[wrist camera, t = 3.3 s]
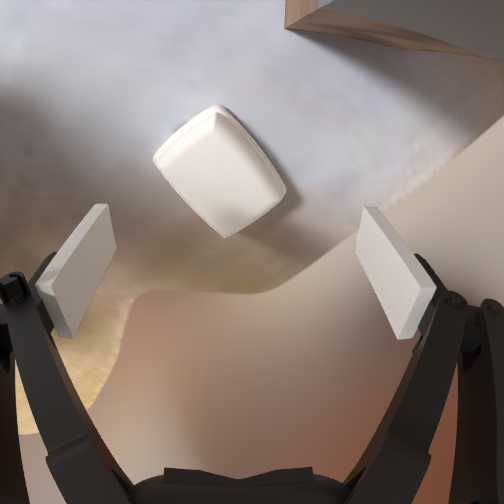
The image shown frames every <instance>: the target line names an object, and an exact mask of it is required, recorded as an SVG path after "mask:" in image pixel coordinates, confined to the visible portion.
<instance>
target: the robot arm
mask: <svg viewBox="0 0 504 504" xmlns="http://www.w3.org/2000/svg"><path fill="white" fill-rule="evenodd" d="M116 250H117V247H116V242H115V238H114V233H113V227H112V222H111V217H110V211H109V205H108V204H95V205H94V206H93V207H92V208H91V210H90V211H89V212H88V213H87V215H86V216H85V217H84V218H83V220H82V221H81V222H80V223H79V225H78V226H77V227H76V228H75V230H74V231H73V232H72V234H71V235H70V236H69V238H68V239H67V240H66V242H65V243H64V244H63V246H62V247H61V248H60V250H59V251H58V252H53V253H52V254H50V255H49V256H48V257H47V258H46V259H45V260H44V261H43V263H42V264H41V266H40V267H39V268H38V270H37V272H36V273H35V274H34V275H33V277H32V278H31V280H30V281H29V283H28V284H27V282H26V279H25V277H24V275H23V273H21V272H12V273H9V274H7V275H5V276H4V277H2V278H1V279H0V298H1V300H2V302H3V304H0V504H30V502H29V497H28V492H27V487H26V482H25V477H24V471H23V465H22V459H21V452H20V444H19V435H18V425H17V413H16V394H15V359H16V363H17V366H18V370H19V374H20V377H21V380H22V384H23V387H24V390H25V393H26V396H27V399H28V402H29V405H30V408H31V411H32V414H33V416H34V419H35V422H36V424H37V427H38V430H39V432H40V434H41V437H42V439H43V442H44V444H45V446H46V449H47V451H48V456H46V462H47V465H48V468H49V470H50V472H51V474H52V476H53V478H54V480H55V482H56V484H57V486H58V488H59V490H60V492H61V494H62V496H63V498H64V500H65V501H66V503H67V504H411V503H412V501H413V499H414V497H415V495H416V493H417V491H418V489H419V487H420V484H421V482H422V480H423V478H424V475H425V473H426V471H427V469H428V466H429V463H430V460H431V455H430V454H429V453H428V450H429V447H430V445H431V442H432V439H433V437H434V434H435V432H436V429H437V426H438V423H439V421H440V418H441V415H442V412H443V409H444V405H445V402H446V399H447V396H448V393H449V389H450V386H451V382H452V379H453V375H454V371H455V368H456V364H457V362H458V415H457V435H456V447H455V457H454V467H453V475H452V482H451V489H450V495H449V503H448V504H504V307H503V306H502V305H501V304H500V303H498V302H497V301H495V300H493V299H484V301H483V302H482V304H481V305H480V307H475V306H470V305H468V304H467V301H466V300H465V299H464V298H463V297H462V296H461V295H460V294H458V293H456V292H453V291H448V290H447V289H446V288H445V286H444V285H443V283H442V282H441V280H440V279H439V277H438V276H437V275H436V274H435V272H434V271H433V269H432V268H431V266H430V265H429V264H428V263H427V261H426V260H425V259H423V258H422V257H421V256H420V255H419V254H413V253H412V251H411V250H410V249H409V248H408V246H407V245H406V243H405V242H404V241H403V239H402V238H401V237H400V236H399V234H398V233H397V232H396V230H395V229H394V228H393V227H392V225H391V224H390V223H389V222H388V220H387V219H386V218H385V216H384V215H383V214H382V213H381V212H380V210H379V209H378V208H377V207H369V206H364V208H363V212H362V217H361V222H360V226H359V231H358V236H357V240H356V244H355V248H354V252H355V254H356V256H357V258H358V259H359V261H360V263H361V265H362V267H363V269H364V271H365V273H366V275H367V277H368V279H369V281H370V283H371V285H372V287H373V289H374V291H375V293H376V295H377V297H378V299H379V301H380V303H381V305H382V308H383V310H384V312H385V314H386V316H387V318H388V320H389V322H390V325H391V327H392V329H393V331H394V333H395V335H396V338H397V340H400V339H408V338H413V336H414V334H415V332H416V330H417V328H419V330H420V333H421V336H420V338H419V340H418V342H417V344H416V345H415V347H414V349H413V351H412V353H413V355H412V357H411V360H410V362H409V364H408V367H407V369H406V371H405V373H404V376H403V378H402V380H401V382H400V384H399V387H398V389H397V391H396V393H395V395H394V397H393V399H392V401H391V403H390V405H389V407H388V409H387V411H386V413H385V415H384V417H383V419H382V421H381V423H380V424H379V426H378V428H377V430H376V432H375V434H374V435H373V437H372V439H371V441H370V442H369V444H368V446H367V448H366V449H365V451H364V453H363V454H362V456H361V458H360V459H359V461H358V463H357V464H356V466H355V467H354V469H353V470H352V471H351V473H350V474H349V475H348V477H347V478H346V479H345V481H344V482H343V483H341V482H339V481H336V480H334V479H332V478H329V477H326V476H321V475H317V474H313V470H312V467H306V468H305V467H304V468H294V469H280V470H274V471H270V472H267V473H263V474H259V475H256V476H252V477H248V478H244V479H233V478H229V477H225V476H220V475H216V474H213V473H209V472H205V471H201V470H189V469H175V468H164V475H159V476H155V477H151V478H149V479H146V480H143V481H141V482H139V483H137V484H136V485H133V483H132V482H131V481H130V480H129V478H128V477H127V476H126V474H125V473H124V472H123V471H122V469H121V468H120V466H119V465H118V464H117V462H116V460H115V459H114V457H113V456H112V454H111V453H110V451H109V449H108V448H107V446H106V445H105V443H104V441H103V440H102V438H101V436H100V434H99V433H98V431H97V429H96V428H95V426H94V424H93V422H92V420H91V419H90V417H89V415H88V413H87V411H86V409H85V407H84V405H83V404H82V402H81V400H80V398H79V396H78V394H77V392H76V390H75V388H74V386H73V383H72V381H71V379H70V377H69V375H68V373H67V370H66V368H65V366H64V364H63V361H62V359H61V357H60V354H59V352H58V350H57V347H56V345H55V342H54V340H53V338H52V336H51V332H52V330H53V328H55V330H56V332H57V334H58V336H59V337H65V338H73V339H74V337H75V335H76V332H77V330H78V328H79V326H80V323H81V321H82V319H83V317H84V314H85V312H86V310H87V308H88V306H89V304H90V301H91V299H92V297H93V295H94V293H95V291H96V289H97V287H98V285H99V283H100V281H101V279H102V277H103V275H104V273H105V271H106V269H107V267H108V265H109V263H110V261H111V259H112V257H113V255H114V253H115V251H116Z"/></svg>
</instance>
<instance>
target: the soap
mask: <svg viewBox="0 0 504 504" xmlns="http://www.w3.org/2000/svg"><path fill="white" fill-rule="evenodd" d="M243 137H244V138H243ZM153 161H154V163H155V165H156V167H157V168H158V170H159V171H160V172H161V173H162V175H163V176H164V177H165V179H166V180H167V181H168V182H169V183H170V185H171V186H172V187H173V188H174V190H175V191H176V192H177V193H178V194H179V195H180V196H181V197H182V199H183V200H184V201H185V202H186V203H187V204H188V205H189V206H190V207H191V208H192V209H193V210H194V211H195V212H196V213H197V214H198V215H199V216H200V217H201V218H202V219H203V220H204V221H205V222H206V223H207V224H208V225H209V226H211V227H212V228H213V229H214V230H215V231H216V232H217V233H219V234H220V235H221V236H222V237H223V238H227V237H229V236H231V235H233V234H235V233H236V232H238V231H240V230H242V229H243V228H245V227H247V226H248V225H250V224H251V223H253V222H254V221H256V220H257V219H259V218H260V217H261V216H263V215H264V214H265V213H267V212H268V211H269V210H270V209H272V208H273V207H274V206H275V205H276V204H278V203H279V202H280V201H281V200H282V199H283V196H284V195H285V194H286V186H285V184H284V182H283V181H282V179H281V177H280V176H279V174H278V172H277V171H276V169H275V168H274V166H273V165H272V163H271V162H270V160H269V159H268V157H267V156H266V155H265V153H264V152H263V150H262V149H261V148H260V147H259V145H258V144H257V143H256V142H255V140H254V139H253V138H252V137H251V136H250V134H249V133H248V132H247V131H246V130H245V129H244V128H243V127H242V125H241V124H240V123H239V122H238V121H237V120H236V119H235V118H234V117H233V116H232V115H231V114H230V113H229V112H228V111H227V110H226V109H225V108H223V107H222V106H220V105H213V106H211V107H210V108H208V109H206V110H204V111H203V112H201V113H200V114H198V115H197V116H195V117H194V118H192V119H191V120H189V122H187V123H186V124H185V125H184V126H182V127H181V128H180V129H179V130H178V131H176V132H175V133H174V134H173V135H172V136H171V137H170V138H169V139H168V140H167V141H166V142H165V143H164V144H163V145H162V146H161V147H160V148H159V150H158V151H157V152H156V153H155V155H154V157H153Z"/></svg>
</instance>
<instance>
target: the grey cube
mask: <svg viewBox="0 0 504 504" xmlns="http://www.w3.org/2000/svg"><path fill="white" fill-rule="evenodd" d="M318 9H320V10H326V11H332V12H338V13H343V14H349V15H354V16H358V17H363V18H367V19H371V20H376V21H380V22H384V23H387V24H391V25H395V26H398V27H402V28H405V29H408V30H411V31H415V32H418V33H421V34H424V35H427V36H430V37H433V38H435V39H438V40H441V41H443V42H446V43H449V44H451V45H454V46H456V47H459V48H461V49H464V50H466V51H468V52H471V53H473V54H475V55H477V56H480V57H484V58H490V59H495V60H501V61H504V0H318Z"/></svg>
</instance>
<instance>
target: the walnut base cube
mask: <svg viewBox="0 0 504 504" xmlns="http://www.w3.org/2000/svg"><path fill="white" fill-rule="evenodd" d="M284 29H295V30H304V31H312V32H320V33H326V34H333V35H339V36H345V37H350V38H355V39H360V40H365V41H370V42H374V43H379V44H383V45H387V46H391V47H395V48H399V49H403V50H421V51H435V52H445V53H455V54H463V55H470V56H477V55H475V54H473V53H471V52H468V51H466V50H464V49H461V48H459V47H456V46H454V45H451V44H449V43H446V42H443V41H441V40H438V39H435V38H433V37H430V36H427V35H424V34H421V33H418V32H415V31H411V30H408V29H405V28H402V27H398V26H395V25H391V24H387V23H384V22H380V21H376V20H371V19H367V18H363V17H358V16H354V15H349V14H343V13H338V12H332V11H326V10H320V9H318V0H286V3H285V25H284ZM477 57H480V56H477Z"/></svg>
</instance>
